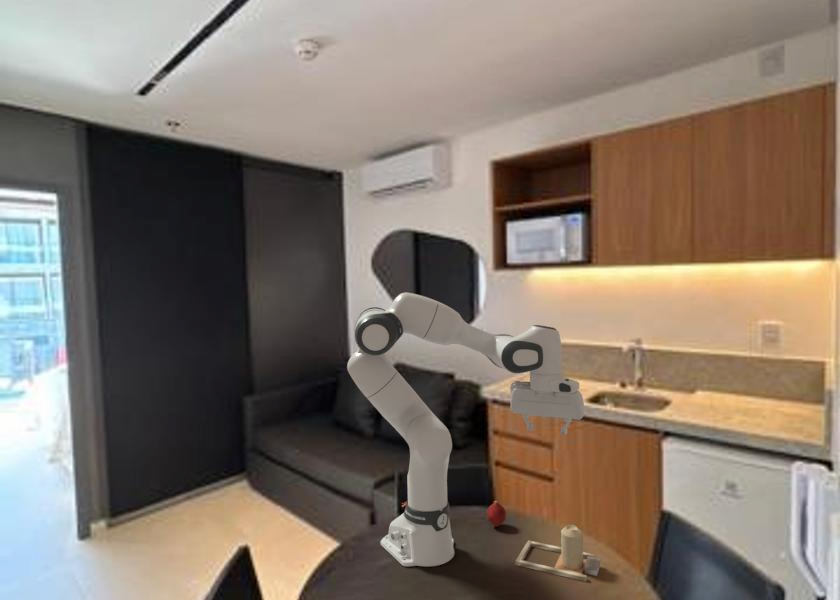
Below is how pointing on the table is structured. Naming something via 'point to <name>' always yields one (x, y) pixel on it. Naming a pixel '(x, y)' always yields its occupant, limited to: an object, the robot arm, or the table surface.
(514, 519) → the table surface
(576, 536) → the candle
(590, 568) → the beige frame
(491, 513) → the onion
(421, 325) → the robot arm
